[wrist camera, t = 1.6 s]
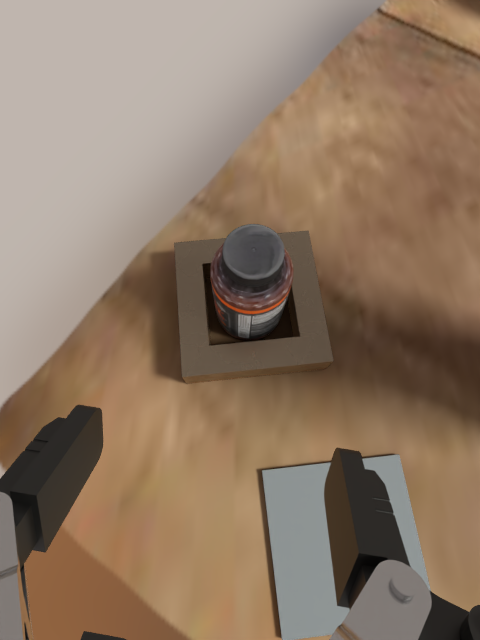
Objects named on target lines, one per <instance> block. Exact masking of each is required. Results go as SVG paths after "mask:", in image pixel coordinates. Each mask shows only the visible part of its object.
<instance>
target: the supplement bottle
mask: <svg viewBox="0 0 480 640" xmlns="http://www.w3.org/2000/svg"><path fill="white" fill-rule="evenodd" d="M293 272H294V270H293V264H292V260H291V258H290V255H289V253H288V252H287V251H286V249H285V248H284V244H283V242H282V240H281V238H280V237H279V235H278V234H277V233H276V232H274V231H273V230H272V229H270V228H268V227H266V226H263V225H259V224H249V225H244V226H241V227H238V228H236V229H235V230H233V231H232V232H231V233H230V234H229V235H228V236H227V238H226V240H225V242H224V243H223V244H222V245H221V246H220V247H219V249H218V250H217V251H216V253H215V255H214V257H213V259H212V263H211V269H210V276H211V285H212V291H213V296H214V303H215V310H216V315H217V318H218V320H219V322H220V324H221V326H222V327H223V329H224V330H225V331H226V332H227V333H229V334H230V335H231V336H233V337H235V338H238V339H242V340H257V339H260V338H263V337H265V336H267V335H268V334H270V333H271V332H272V331H273V330H274V329H275V328H276V326H277V325H278V323H279V321H280V318H281V316H282V313H283V310H284V307H285V304H286V301H287V298H288V295H289V292H290V288H291V285H292V282H293Z"/></svg>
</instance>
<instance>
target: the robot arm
mask: <svg viewBox="0 0 480 640" xmlns="http://www.w3.org/2000/svg"><path fill="white" fill-rule="evenodd" d="M102 448H103V424H102V410H101V409H100V408H96V407H90V406H84V405H77V406H76V407H75V408H74V409H73V410H72V411H71V413H70V414H69V415H68V417H67V418H66V419H65V418H59V417H58V418H57V419H55V420H54V421H52V422H50V423H49V424H47V425H46V426H44V427H43V428H42V429H41V431H40V432H39V433H38V434H37V435H36V437H35V438H34V440H33V441H31V443H30V444H29V445H28V446H27V447H26V449H25V451H23V452H22V453H21V455H20V456H19V457H18V458H17V459H16V461H15V462H14V463H13V464H12V465H11V467H10V468H9V469H8V470H7V471H6V472H5V474H4V475H3V476H2V477H1V479H0V640H33V634H32V626H31V617H30V609H29V599H28V589H27V580H26V571H25V565H24V563H25V561H26V560H27V558H28V556H29V555H30V553H31V551H32V550H35V551H41V552H46V551H47V549H48V547H49V546H50V544H51V542H52V540H53V539H54V537H55V535H56V533H57V532H58V530H59V528H60V526H61V525H62V523H63V521H64V519H65V518H66V516H67V514H68V513H69V511H70V509H71V507H72V506H73V504H74V502H75V500H76V499H77V497H78V495H79V493H80V492H81V490H82V488H83V486H84V485H85V483H86V481H87V479H88V478H89V476H90V474H91V473H92V471H93V469H94V467H95V466H96V464H97V462H98V460H99V458H100V455H101V452H102ZM324 502H325V510H326V518H327V527H328V535H329V543H330V551H331V559H332V567H333V576H334V584H335V592H336V600H337V606H340V607H346V608H349V609H350V611H349V613H348V614H347V616H346V618H345V619H344V621H343V622H342V624H341V625H339V626H338V627H337V628H336V630H335V631H334V633H333V635H332V636H331V638H330V639H329V640H480V605H477V606H475V607H473V608H472V609H471V611H470V612H468V611H466V610H464V609H462V608H460V607H458V606H456V605H454V604H452V603H450V602H448V601H446V600H444V599H442V598H440V597H438V596H437V595H435V594H434V593H432V592H431V591H430V590H429V589H428V587H427V585H426V583H425V582H424V580H423V579H422V578H421V576H420V575H419V574H418V573H417V572H416V571H415V570H413V569H412V568H411V566H410V563H409V561H408V557H407V554H406V551H405V548H404V544H403V541H402V538H401V534H400V531H399V528H398V525H397V521H396V518H395V515H394V514H393V513H394V512H393V508H392V505H391V503H390V499H389V495H388V492H387V489H386V486H385V484H384V482H383V481H382V480H381V478H380V477H379V476H378V474H377V473H376V471H374V470H368V469H365V467H364V464H363V460H362V456H361V453H360V452H359V451H354V450H347V449H341V448H336V449H335V451H334V454H333V458H332V461H331V464H330V467H329V471H328V474H327V477H326V481H325V487H324ZM81 640H126V639H124V638H118V637H113V636H108V635H102V634H96V633H92V632H85V631H84V632H83V635H82V638H81Z"/></svg>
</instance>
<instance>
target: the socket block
mask: <svg viewBox="0 0 480 640" xmlns="http://www.w3.org/2000/svg"><path fill="white" fill-rule="evenodd" d="M277 234H278V235H279V237H280V238H281V240H282V242H283V244H284V248H285V249H286V251H287V252H288V253H289V255H290V258H291V260H292V264H293V270H294V272H293V282H292V285H291V288H290V292H289V295H288V298H287V300H288V306H289V312H290V318H291V324H292V331H293V337H290V338H281V339H271V340H261V341H251V342H241V343H232V344H222V345H212V346H211V343H210V331H209V320H208V308H207V296H206V284H205V279H206V278H211V276H210V269H211V263H212V259H213V257H214V255H215V253H216V251H217V250H218V249H219V247H220V246H221V245H222V244H223V243H224V242H225V240H226V238H222V239H211V240H200V241H189V242H178V243H174V247H175V265H176V282H177V299H178V317H179V334H180V352H181V369H182V378H183V379H184V381H185V382H186V383H187V384H190V383H199V382H209V381H218V380H227V379H237V378H246V377H256V376H265V375H275V374H284V373H293V372H303V371H312V370H322V369H326V368H327V367H328V366H329V365H330V364H331V363H332V362H333V361H334V360H333V355H332V350H331V345H330V340H329V334H328V329H327V324H326V319H325V314H324V309H323V303H322V298H321V293H320V288H319V283H318V278H317V272H316V267H315V262H314V257H313V252H312V246H311V241H310V236H309V231H299V232H288V233H277Z"/></svg>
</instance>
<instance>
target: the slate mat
mask: <svg viewBox="0 0 480 640" xmlns="http://www.w3.org/2000/svg"><path fill="white" fill-rule="evenodd" d="M362 460H363V464H364V467H365V469H368V470H374V471H376V473H377V474H378V476H379V477H380V478H381V480H382V481H383V482H384V484H385V486H386V489H387V492H388V495H389V499H390V503H391V505H392V508H393V512H394V513H393V514H394V515H395V518H396V521H397V525H398V528H399V531H400V534H401V538H402V541H403V544H404V548H405V551H406V554H407V557H408V561H409V563H410V566H411V568H412V569H413V570H415V571H416V572H417V573H418V574H419V575H420V576H421V578H422V579H423V580H424V582H425V583H426V585H427V587H428V589H429V590H430V585H429V581H428V577H427V572H426V568H425V564H424V559H423V555H422V551H421V546H420V542H419V538H418V534H417V529H416V525H415V521H414V516H413V512H412V508H411V503H410V499H409V495H408V490H407V486H406V482H405V478H404V473H403V469H402V465H401V460H400V456H399V455H389V456H380V457H372V458H363V459H362ZM330 464H331V462H329V463H320V464H312V465H303V466H295V467H286V468H277V469H269V470H262V476H263V484H264V493H265V501H266V510H267V518H268V527H269V535H270V544H271V552H272V560H273V569H274V577H275V586H276V594H277V603H278V611H279V620H280V628H281V637H282V640H295V639H302V638H309V637H317V636H324V635H332V634H333V633H334V631H335V630H336V628H337V627H338V626H339V625H341V624H342V622H343V621H344V619H345V618H346V616H347V614H348V613H349V611H350V609H349V608H346V607H340V606H337V600H336V592H335V584H334V576H333V567H332V559H331V551H330V543H329V535H328V527H327V518H326V510H325V502H324V487H325V481H326V477H327V474H328V471H329V467H330ZM430 591H431V590H430Z"/></svg>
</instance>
